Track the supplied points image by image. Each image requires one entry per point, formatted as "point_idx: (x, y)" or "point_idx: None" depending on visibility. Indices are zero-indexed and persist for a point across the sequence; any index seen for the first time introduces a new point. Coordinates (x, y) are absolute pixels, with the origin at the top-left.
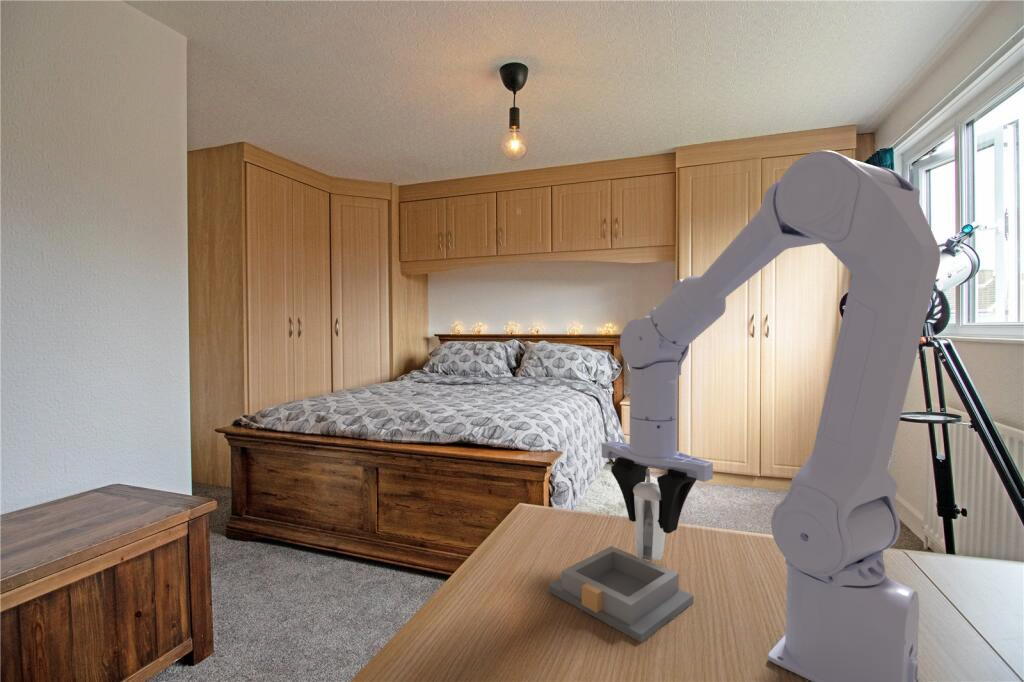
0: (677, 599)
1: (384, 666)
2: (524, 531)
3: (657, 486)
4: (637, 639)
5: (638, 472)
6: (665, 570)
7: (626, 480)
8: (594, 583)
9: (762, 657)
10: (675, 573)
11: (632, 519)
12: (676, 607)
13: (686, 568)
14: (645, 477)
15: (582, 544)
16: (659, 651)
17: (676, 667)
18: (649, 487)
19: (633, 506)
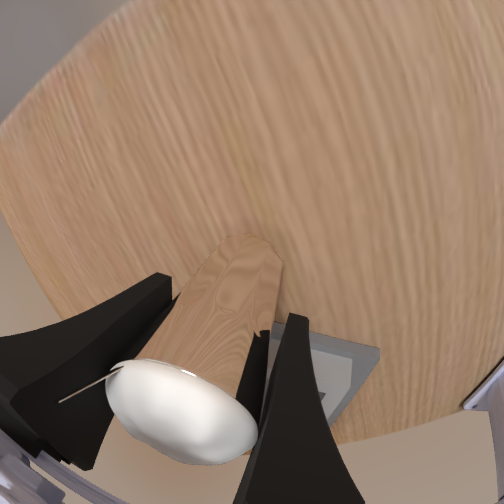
0: (354, 376)
1: None
2: (35, 247)
3: (194, 453)
4: None
5: (71, 418)
6: (323, 387)
7: (101, 440)
8: None
9: (458, 398)
10: (344, 388)
11: None
12: (356, 391)
13: (344, 230)
14: (73, 359)
15: (107, 241)
16: (348, 427)
17: (367, 434)
18: (182, 461)
19: None
